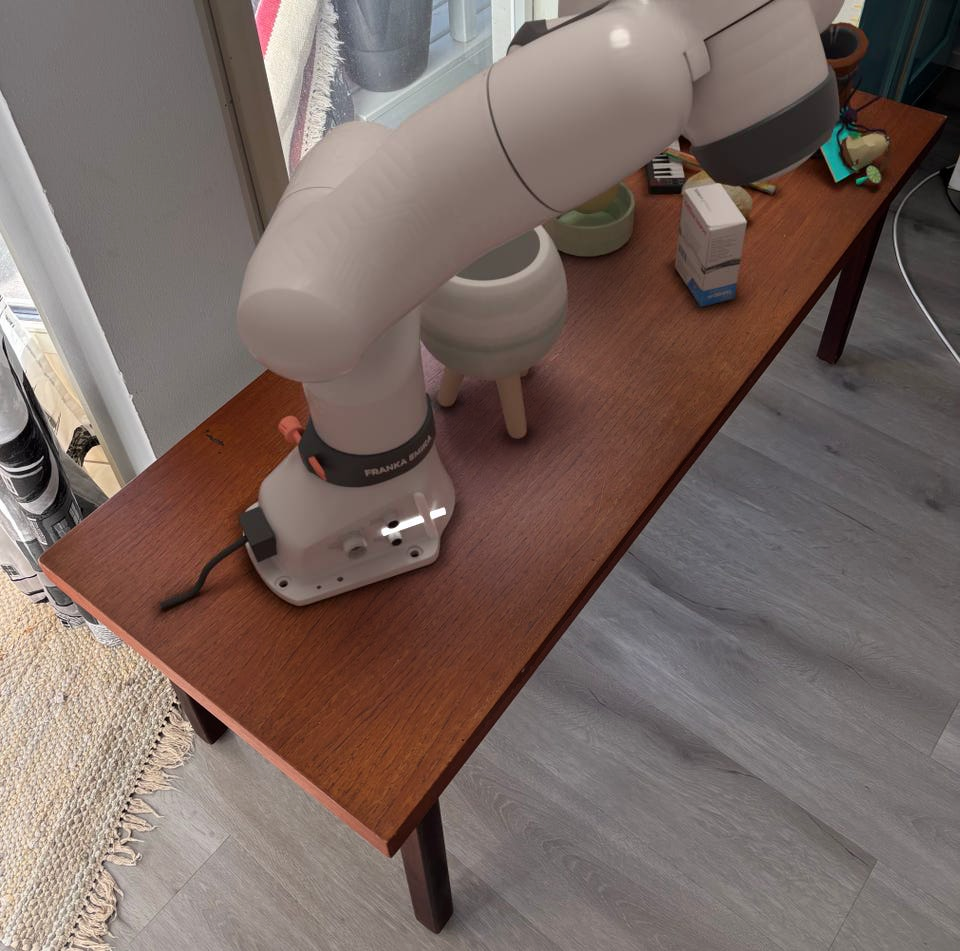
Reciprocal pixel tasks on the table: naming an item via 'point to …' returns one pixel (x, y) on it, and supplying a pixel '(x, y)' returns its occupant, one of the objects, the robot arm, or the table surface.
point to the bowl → (594, 227)
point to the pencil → (691, 160)
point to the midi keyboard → (665, 173)
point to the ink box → (710, 243)
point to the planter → (498, 320)
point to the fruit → (599, 202)
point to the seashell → (735, 193)
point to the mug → (843, 56)
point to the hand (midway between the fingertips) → (590, 187)
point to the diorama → (855, 144)
